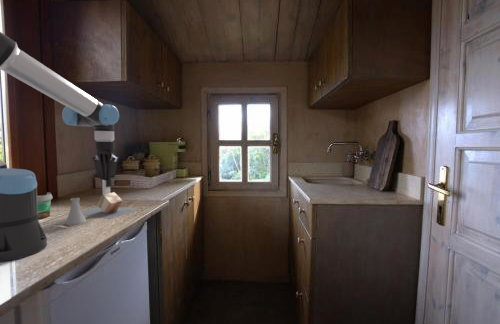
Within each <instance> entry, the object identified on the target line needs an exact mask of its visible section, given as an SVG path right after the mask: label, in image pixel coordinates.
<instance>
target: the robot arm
mask: <svg viewBox="0 0 500 324" xmlns="http://www.w3.org/2000/svg"><path fill="white" fill-rule="evenodd" d="M0 70H1V71H3V72H4V73H7V74H8V75H9V76H12V77H13V78H15V79H17V80H18V81H21V82H22V83H24V84H26V85H28V86H29V87H32V89H35V90H37V91H38V92H40V93H42V94H44V96H45V95H46V96H47V97H49V98H51V99H53V100H54V101H56V102H58V103H60V104H61V105H63V106H64V108H63V109H62V113H61V118H62V121H63V122H64V124H65V125H68V126H74V127H90V128H91V127H92V128H93V129H94V130H93V131H94V140H95V142H94V149H95V150H96V155H95V156H92V160H93V163H94V167H95V170H96V171H95V172H96V176H97V179H100V180H101V186H102V187H101V188H102V195H103V194H108V193H111V187H112V179H115V178H116V170H117V165H118V164H117V163H118V161H119V156H116V155H115V152H114V150H115V149H116V146H115V144H116V143H115V142H114V141H115V124H116V123H118V121H119V119H120V113H119V110H118V108H117V107H116V106H114V105H112V104H108V103H104V104H103V103H102V102H100V101H99V100H97V99H96V98H94V97H93V96H91V95H90V94H89V93H87V92H85V91H84V90H82V89H81V88H79V87H78V86H76V85H74V84H73V83H72V82H70V81H69V80H67V79H65V78H64V77H62V76H61V75H60V74H58V73H56V72H55V71H54V70H52V69H50V67H47V66H46V65H45V64H43V63H41V62H40V61H39V60H37V59H35V57H32V56H30V55H29V54H28V53H26V52H25V51H23V50H21V49H20V48H19V47H18V44H17V41H14V39H12V38H10V37H9V36H7V35H6V34H5V33H2V32H1V31H0ZM37 196H38V181H37V177H36V174H35V173H34V172H33V171H32V170H28V169H24V168H13V167H12V168H10V167H9V168H8V166H7V162H5V161H3V160H1V159H0V263H3V262H8V261H13V260H17V259H21V258H24V257H28V256H32V255H33V254H35V253H38V252H40V251H42V250H44V249H45V248H47V246H48V238H47V235H46V233H45V232H44V230H43V227H42V226H41V224H40V221H39V220H38V203H37Z"/></svg>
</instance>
